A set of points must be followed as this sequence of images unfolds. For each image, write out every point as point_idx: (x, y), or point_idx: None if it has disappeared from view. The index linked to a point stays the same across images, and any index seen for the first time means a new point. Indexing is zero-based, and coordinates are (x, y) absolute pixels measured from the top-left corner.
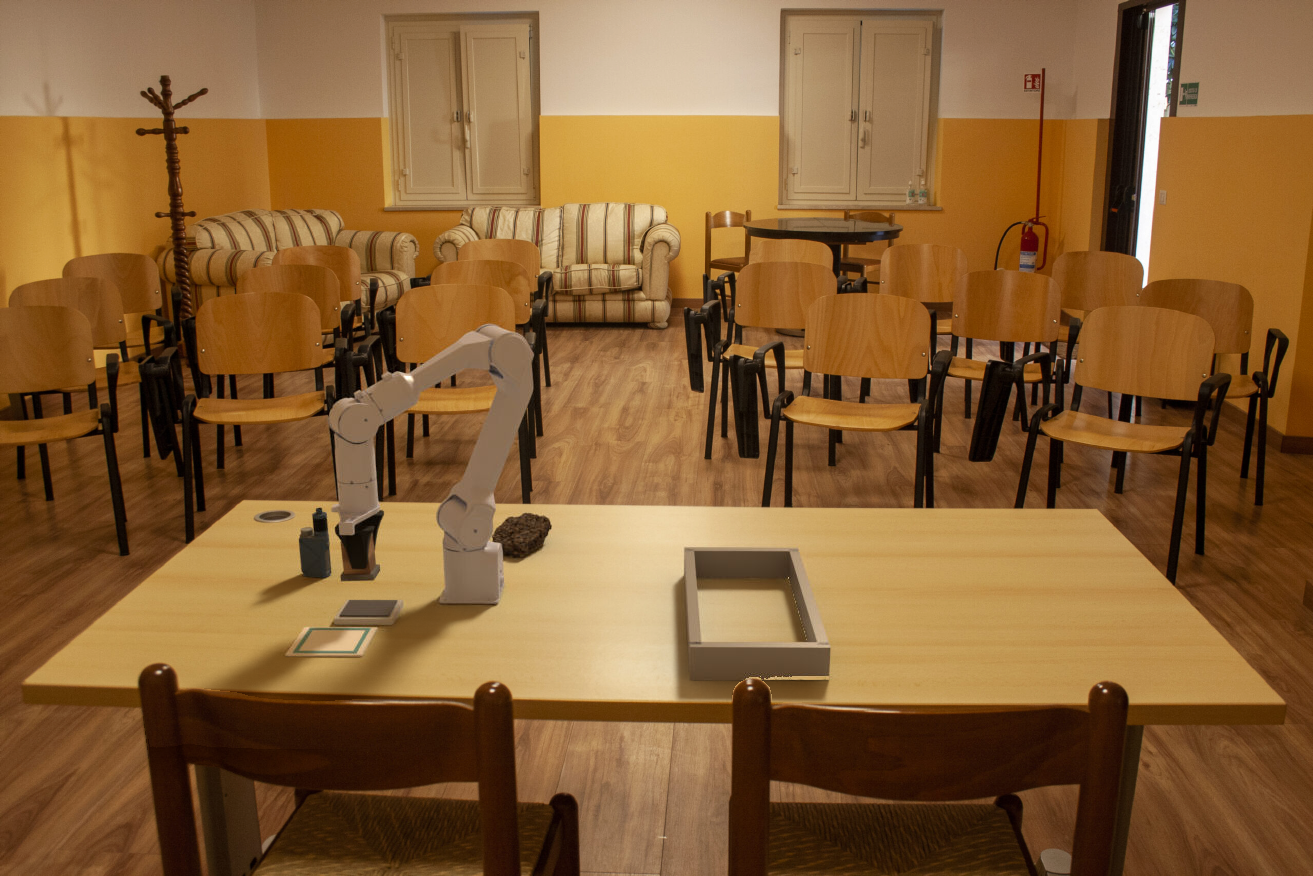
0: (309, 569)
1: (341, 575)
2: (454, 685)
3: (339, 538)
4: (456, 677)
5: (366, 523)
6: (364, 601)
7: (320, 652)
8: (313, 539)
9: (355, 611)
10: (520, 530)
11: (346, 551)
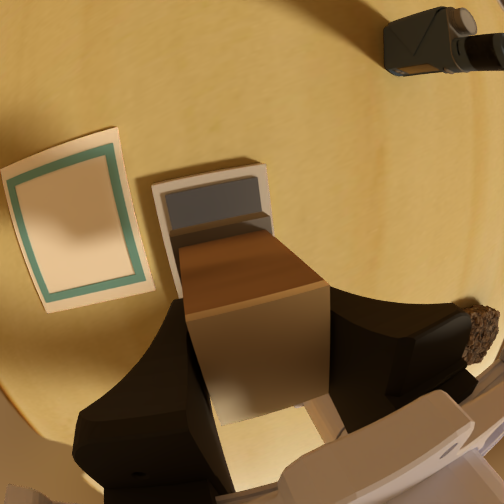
0: (394, 36)
1: (170, 241)
2: (57, 432)
3: (106, 395)
4: (72, 431)
5: (359, 406)
6: None
7: (20, 236)
8: (447, 37)
9: (192, 225)
10: (469, 347)
11: (151, 344)
